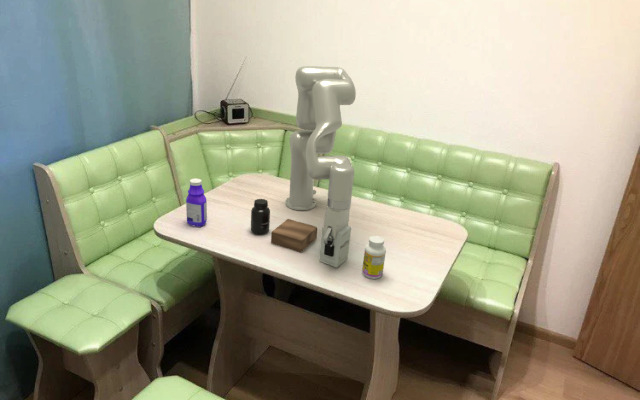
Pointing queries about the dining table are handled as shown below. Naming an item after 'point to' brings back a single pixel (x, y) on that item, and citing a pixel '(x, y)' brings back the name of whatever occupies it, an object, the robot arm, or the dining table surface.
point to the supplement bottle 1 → (260, 217)
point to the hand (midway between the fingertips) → (334, 249)
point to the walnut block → (294, 235)
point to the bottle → (196, 204)
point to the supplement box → (337, 248)
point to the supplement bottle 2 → (374, 258)
